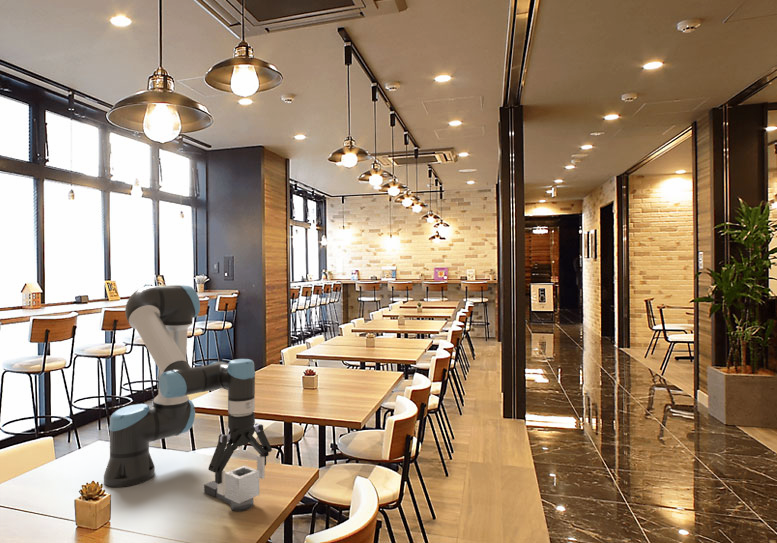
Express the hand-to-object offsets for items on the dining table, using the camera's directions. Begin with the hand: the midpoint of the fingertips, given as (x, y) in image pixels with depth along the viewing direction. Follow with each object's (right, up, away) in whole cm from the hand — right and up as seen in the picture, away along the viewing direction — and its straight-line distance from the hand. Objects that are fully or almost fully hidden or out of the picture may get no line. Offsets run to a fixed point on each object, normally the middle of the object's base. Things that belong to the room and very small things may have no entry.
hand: (241, 485), depth 142 cm
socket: (0, -3, 0) cm, 3 cm away
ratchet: (-5, -6, +4) cm, 9 cm away
